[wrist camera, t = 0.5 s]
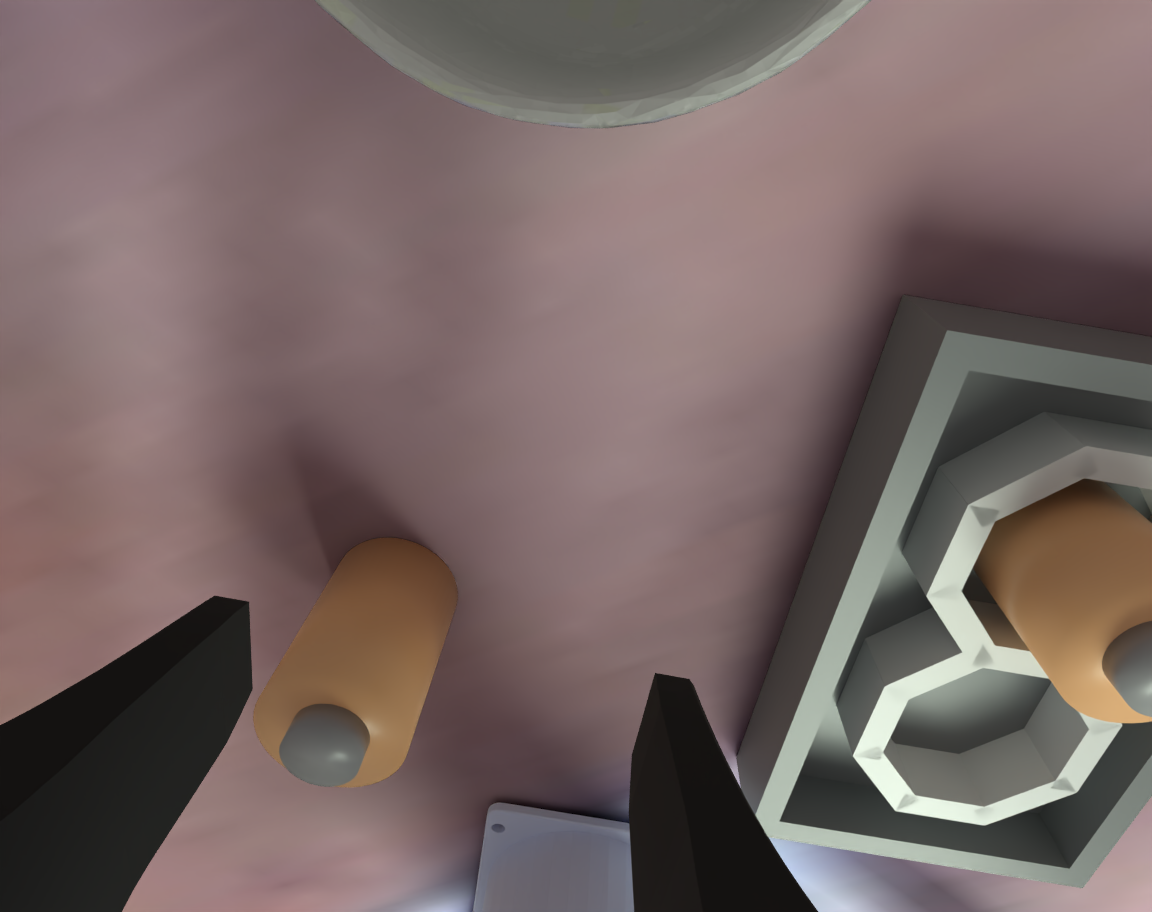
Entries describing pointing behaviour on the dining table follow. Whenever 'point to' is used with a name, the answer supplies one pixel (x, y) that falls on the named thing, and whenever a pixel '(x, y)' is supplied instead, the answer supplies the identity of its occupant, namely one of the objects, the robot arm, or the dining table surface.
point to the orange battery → (360, 667)
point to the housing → (974, 608)
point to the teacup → (591, 51)
